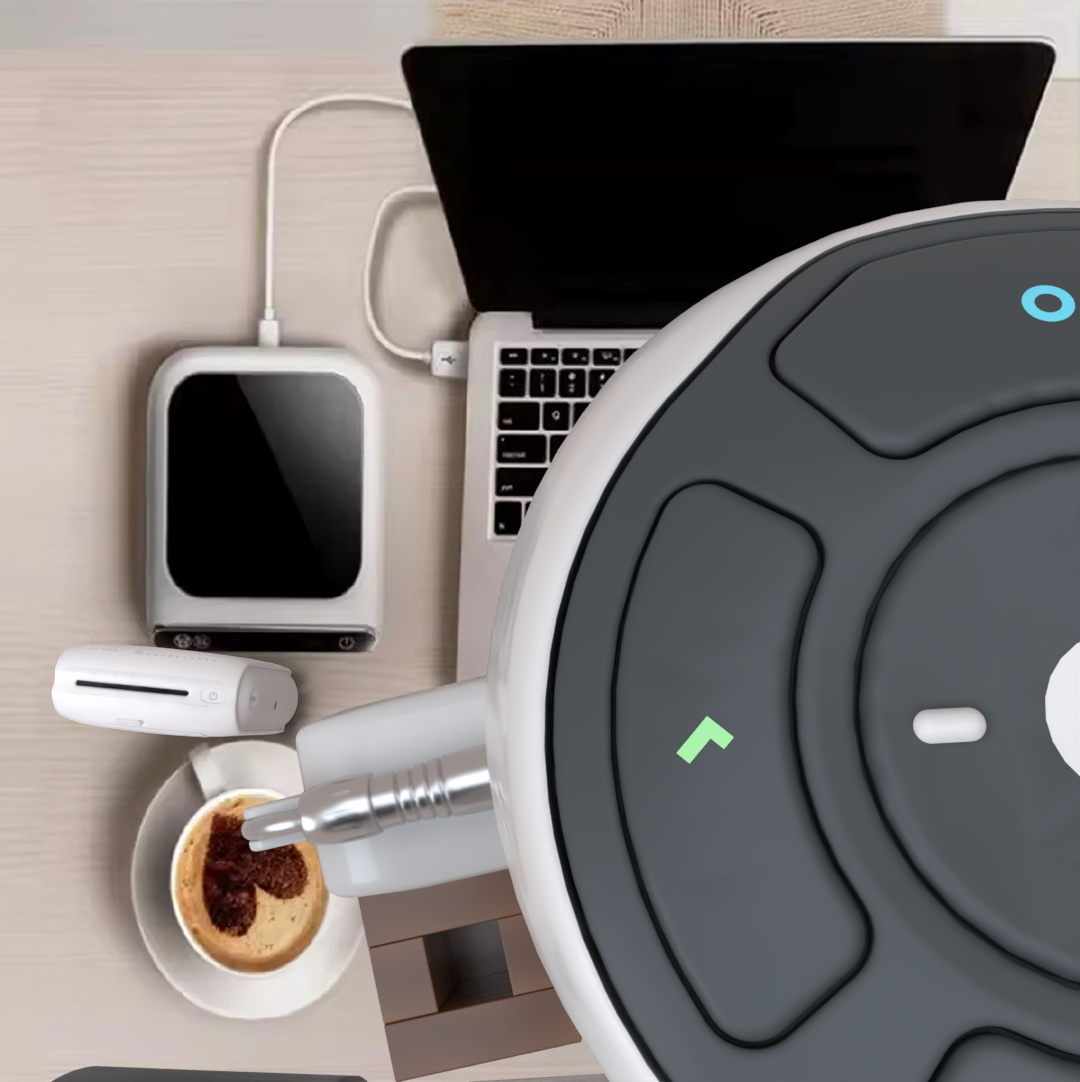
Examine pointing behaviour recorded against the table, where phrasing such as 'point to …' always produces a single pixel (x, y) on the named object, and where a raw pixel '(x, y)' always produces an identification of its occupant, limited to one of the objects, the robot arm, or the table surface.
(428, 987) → the holder
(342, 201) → the table surface
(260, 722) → the photo printer
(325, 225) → the table surface
